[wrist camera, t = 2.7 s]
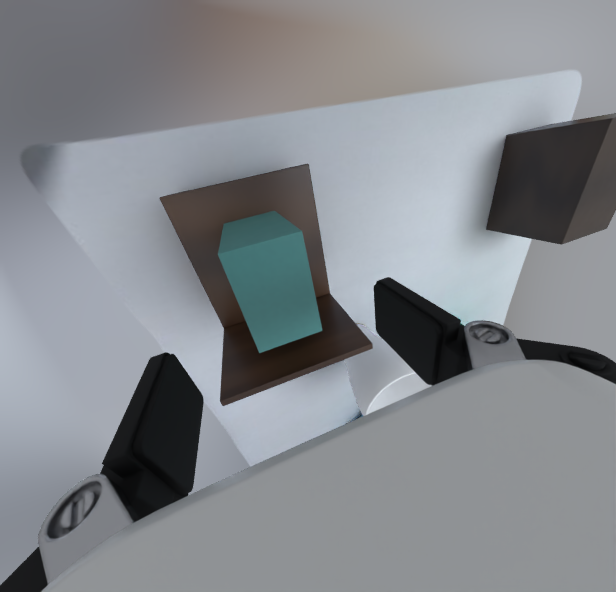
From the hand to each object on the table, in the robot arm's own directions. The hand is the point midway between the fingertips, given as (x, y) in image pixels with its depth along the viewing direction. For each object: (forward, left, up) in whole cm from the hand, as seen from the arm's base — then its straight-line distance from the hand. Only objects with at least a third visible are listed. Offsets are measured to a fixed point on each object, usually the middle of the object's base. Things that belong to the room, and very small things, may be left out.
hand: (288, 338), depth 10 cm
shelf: (0, 0, -20) cm, 20 cm away
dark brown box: (+2, +41, -20) cm, 45 cm away
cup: (+21, +11, -20) cm, 31 cm away
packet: (0, 0, -13) cm, 13 cm away
